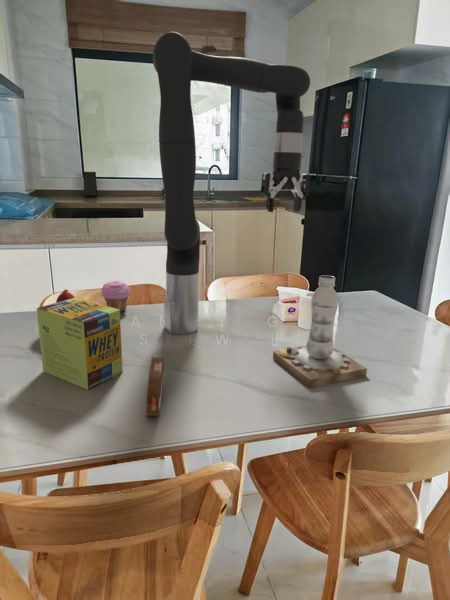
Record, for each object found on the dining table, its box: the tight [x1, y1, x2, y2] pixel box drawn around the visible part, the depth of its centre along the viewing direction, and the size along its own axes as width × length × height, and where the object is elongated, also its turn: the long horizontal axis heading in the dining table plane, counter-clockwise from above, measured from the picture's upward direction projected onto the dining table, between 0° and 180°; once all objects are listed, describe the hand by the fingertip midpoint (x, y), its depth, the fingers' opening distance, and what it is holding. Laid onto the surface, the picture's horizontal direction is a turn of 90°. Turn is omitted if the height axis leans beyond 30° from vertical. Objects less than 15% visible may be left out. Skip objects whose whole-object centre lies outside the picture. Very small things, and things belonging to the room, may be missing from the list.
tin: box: [145, 356, 165, 416], centre depth 87 cm, size 15×3×8 cm, turn 5°
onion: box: [55, 288, 76, 303], centre depth 135 cm, size 6×6×8 cm
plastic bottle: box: [305, 274, 340, 359], centre depth 102 cm, size 6×7×20 cm
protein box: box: [36, 297, 124, 391], centre depth 97 cm, size 10×15×16 cm
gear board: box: [272, 345, 368, 389], centre depth 105 cm, size 16×16×4 cm
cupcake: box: [101, 280, 131, 313], centre depth 139 cm, size 9×9×10 cm
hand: (283, 211), depth 123 cm, fingers open, 8 cm apart
